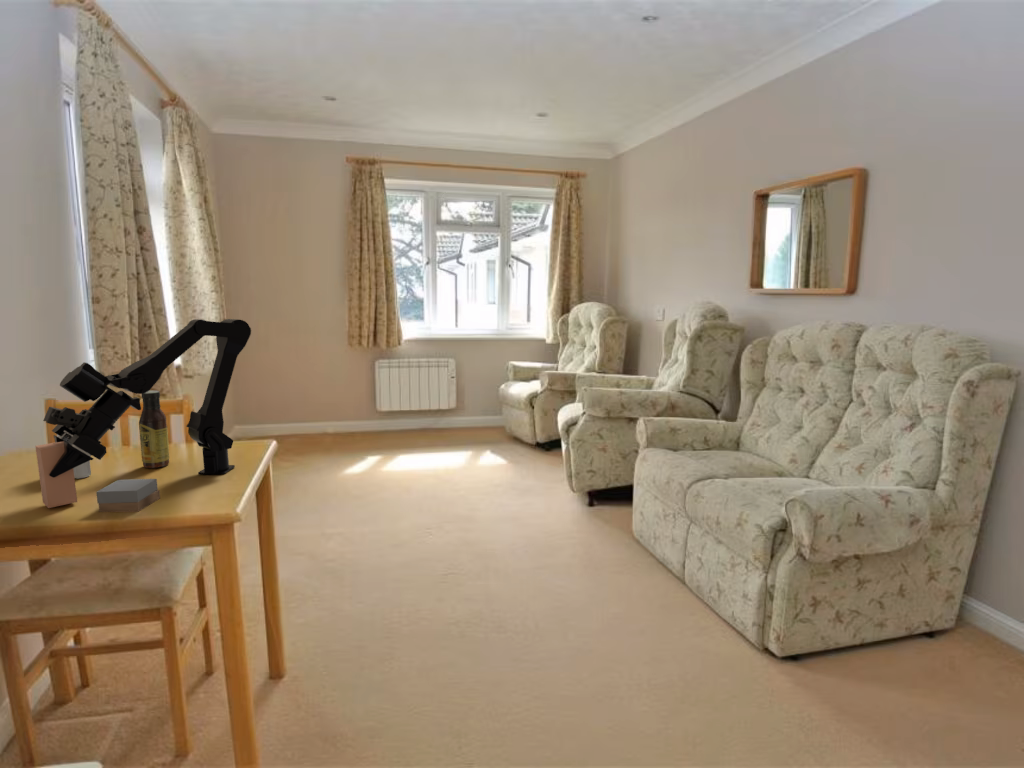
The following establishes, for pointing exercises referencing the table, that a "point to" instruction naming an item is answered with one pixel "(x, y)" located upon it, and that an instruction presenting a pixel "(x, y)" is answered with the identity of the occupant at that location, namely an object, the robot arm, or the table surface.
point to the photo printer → (82, 470)
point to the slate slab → (127, 491)
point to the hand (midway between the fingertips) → (48, 473)
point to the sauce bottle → (153, 432)
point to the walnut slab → (130, 504)
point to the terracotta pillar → (58, 487)
